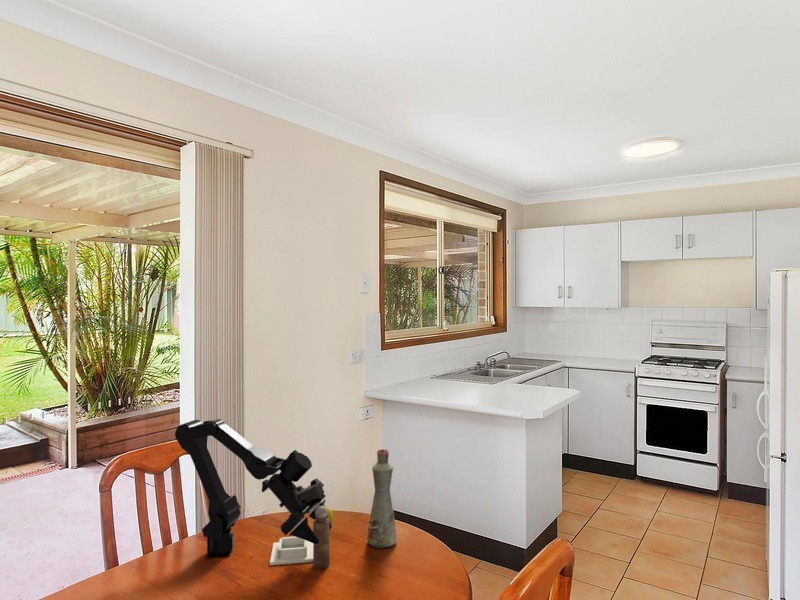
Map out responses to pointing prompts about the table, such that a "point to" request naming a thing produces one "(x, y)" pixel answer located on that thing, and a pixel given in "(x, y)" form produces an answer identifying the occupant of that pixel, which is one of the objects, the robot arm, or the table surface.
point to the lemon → (329, 515)
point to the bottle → (382, 505)
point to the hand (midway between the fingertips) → (324, 535)
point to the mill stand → (291, 551)
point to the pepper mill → (321, 539)
